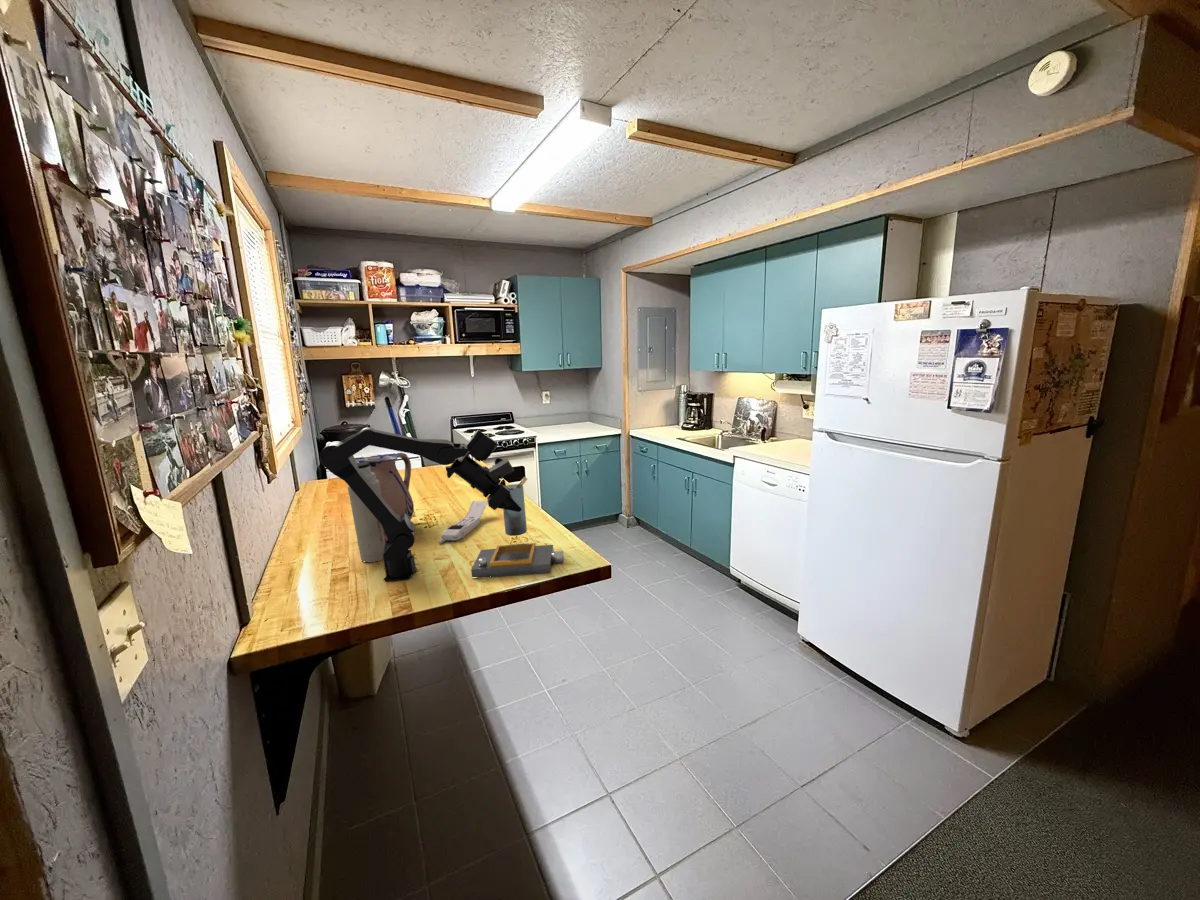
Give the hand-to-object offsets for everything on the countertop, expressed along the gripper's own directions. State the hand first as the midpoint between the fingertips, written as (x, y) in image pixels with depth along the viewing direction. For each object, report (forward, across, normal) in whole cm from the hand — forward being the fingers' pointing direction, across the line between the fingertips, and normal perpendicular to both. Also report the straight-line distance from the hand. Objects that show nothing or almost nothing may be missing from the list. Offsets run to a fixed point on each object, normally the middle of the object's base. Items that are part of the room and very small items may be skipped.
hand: (518, 507), depth 133 cm
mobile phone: (-1, +26, +20) cm, 33 cm away
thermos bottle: (-19, +15, +38) cm, 45 cm away
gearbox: (+8, -9, +11) cm, 16 cm away
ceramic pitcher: (-17, +37, +37) cm, 55 cm away
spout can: (+4, 0, +6) cm, 7 cm away
